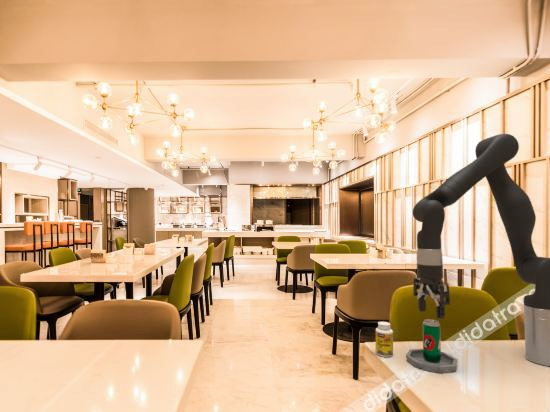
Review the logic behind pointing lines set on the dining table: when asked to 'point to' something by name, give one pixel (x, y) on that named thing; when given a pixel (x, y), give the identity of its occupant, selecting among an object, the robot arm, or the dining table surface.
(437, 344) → the soda can
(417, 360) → the dish
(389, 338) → the supplement bottle
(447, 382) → the dining table surface
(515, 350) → the dining table surface
